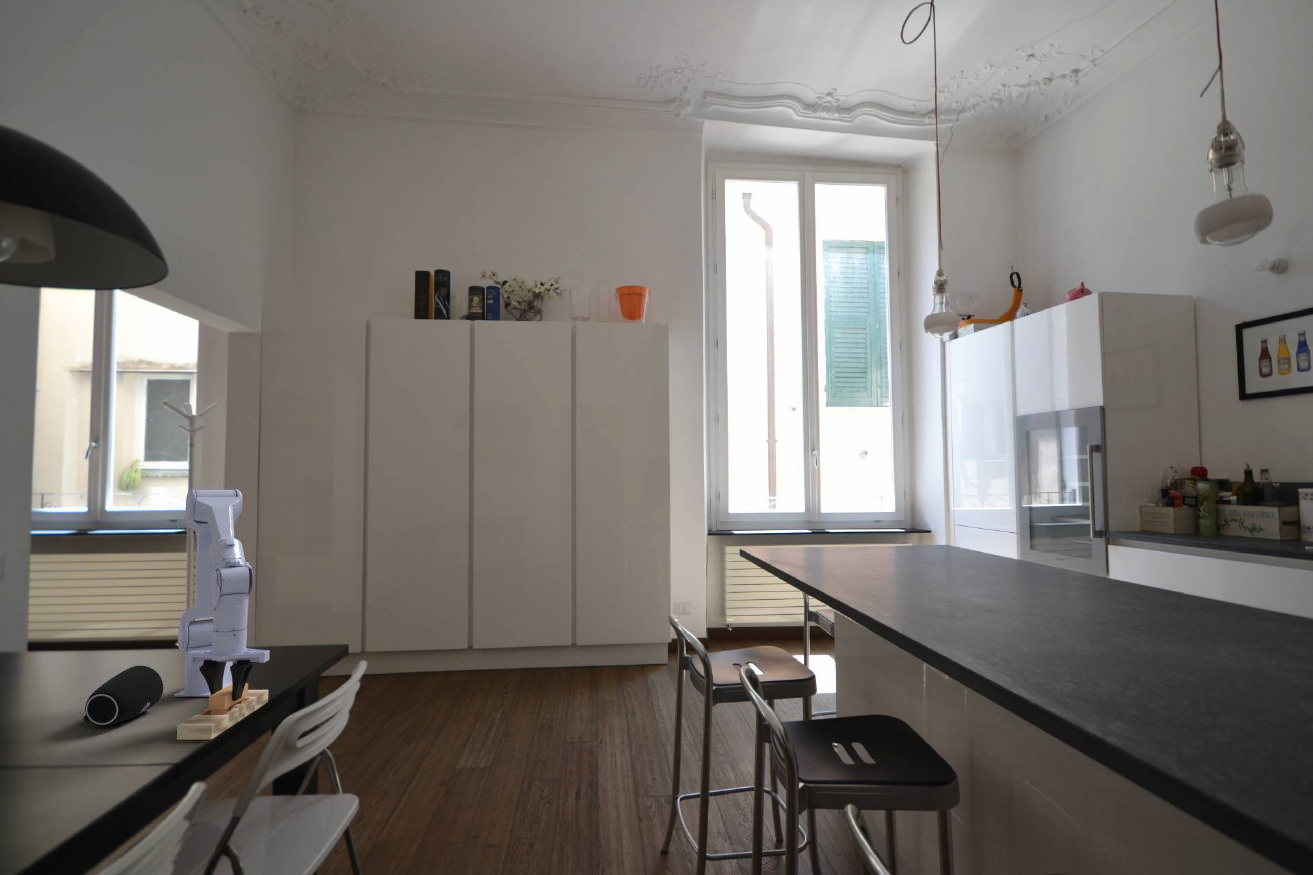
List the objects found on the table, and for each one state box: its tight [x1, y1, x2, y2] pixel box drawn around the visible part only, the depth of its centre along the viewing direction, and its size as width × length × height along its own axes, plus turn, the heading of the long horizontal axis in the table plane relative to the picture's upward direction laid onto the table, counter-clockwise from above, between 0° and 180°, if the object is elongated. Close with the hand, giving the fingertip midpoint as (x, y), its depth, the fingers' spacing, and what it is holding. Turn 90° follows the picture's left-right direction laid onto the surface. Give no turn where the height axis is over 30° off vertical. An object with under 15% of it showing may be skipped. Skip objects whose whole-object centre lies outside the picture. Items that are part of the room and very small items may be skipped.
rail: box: [176, 689, 269, 741], centre depth 132 cm, size 20×6×2 cm, turn 4°
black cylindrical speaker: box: [82, 664, 164, 727], centre depth 131 cm, size 12×9×10 cm
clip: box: [208, 682, 249, 715], centre depth 133 cm, size 8×3×6 cm, turn 4°
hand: (226, 699), depth 133 cm, fingers open, 3 cm apart
